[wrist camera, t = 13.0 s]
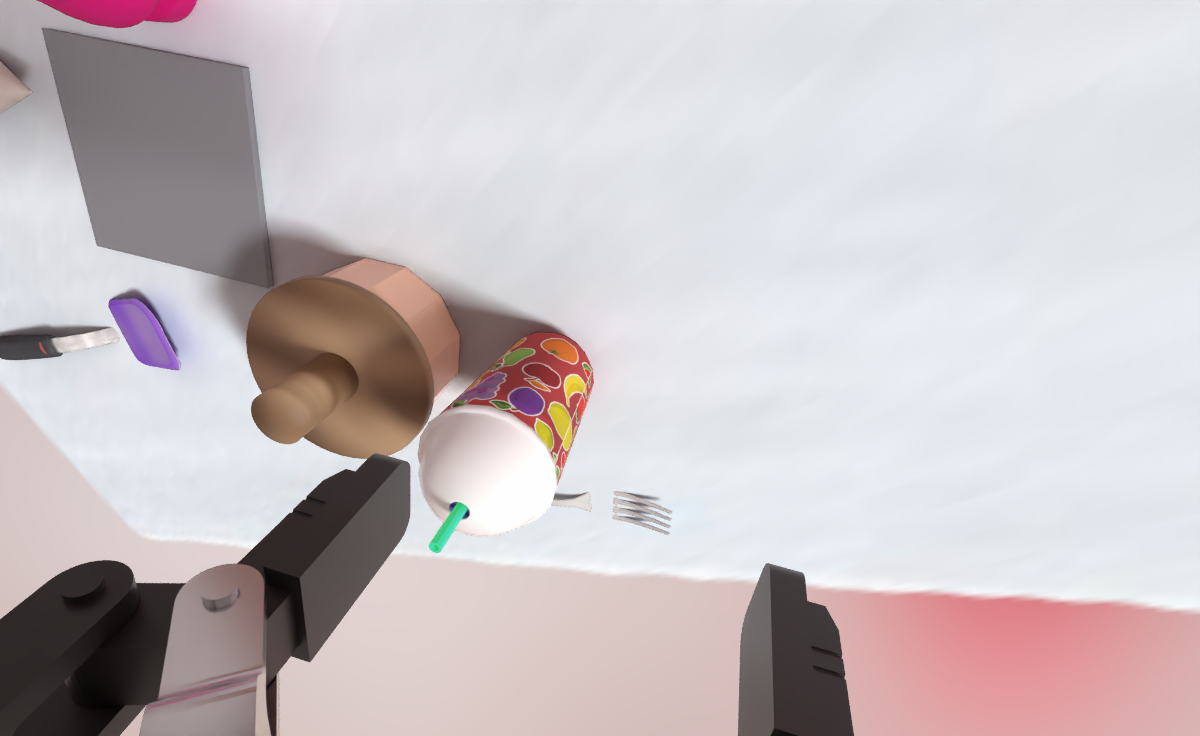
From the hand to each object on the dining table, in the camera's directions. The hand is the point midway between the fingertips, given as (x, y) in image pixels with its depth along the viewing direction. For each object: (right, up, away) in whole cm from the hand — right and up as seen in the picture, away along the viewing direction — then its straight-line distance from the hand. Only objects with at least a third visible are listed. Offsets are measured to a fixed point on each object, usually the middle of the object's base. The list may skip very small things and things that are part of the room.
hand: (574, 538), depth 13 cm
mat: (-32, +19, +33) cm, 50 cm away
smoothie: (-3, +4, +34) cm, 34 cm away
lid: (-18, +4, +30) cm, 36 cm away
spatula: (-47, +7, +44) cm, 65 cm away
